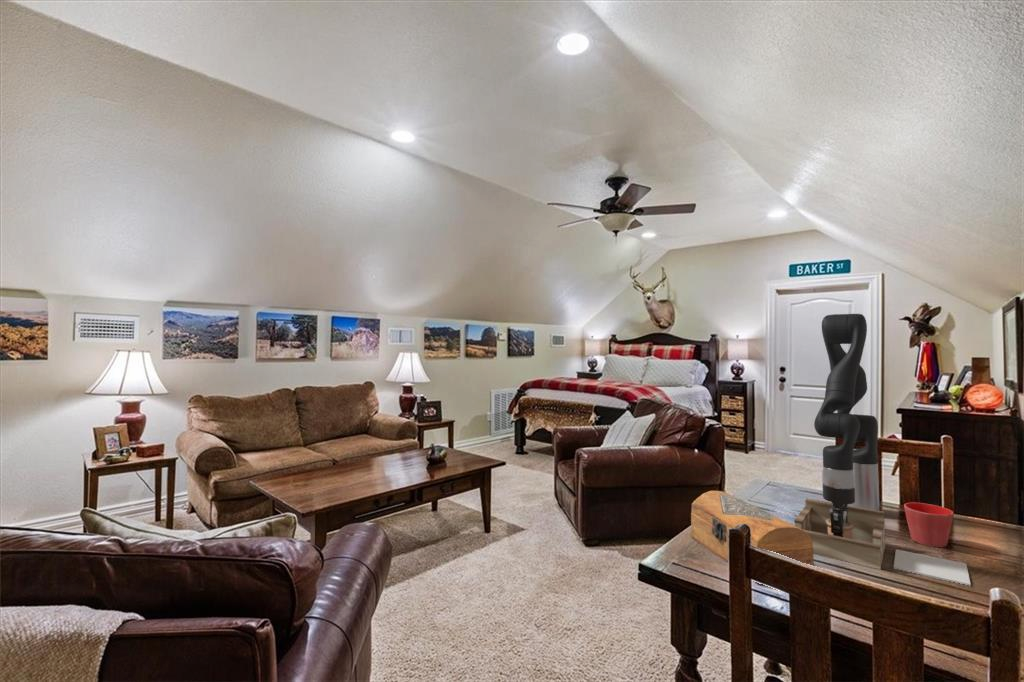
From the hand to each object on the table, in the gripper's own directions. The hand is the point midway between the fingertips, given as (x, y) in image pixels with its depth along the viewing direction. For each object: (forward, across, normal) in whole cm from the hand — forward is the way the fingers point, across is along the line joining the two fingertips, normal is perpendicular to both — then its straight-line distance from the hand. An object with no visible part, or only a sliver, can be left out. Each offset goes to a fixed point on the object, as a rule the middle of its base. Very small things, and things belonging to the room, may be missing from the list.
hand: (839, 543), depth 133 cm
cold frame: (+1, 0, 0) cm, 1 cm away
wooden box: (+1, +24, -19) cm, 30 cm away
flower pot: (+1, -21, +19) cm, 28 cm away
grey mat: (+1, 0, +19) cm, 19 cm away
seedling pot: (+1, 0, 0) cm, 1 cm away
